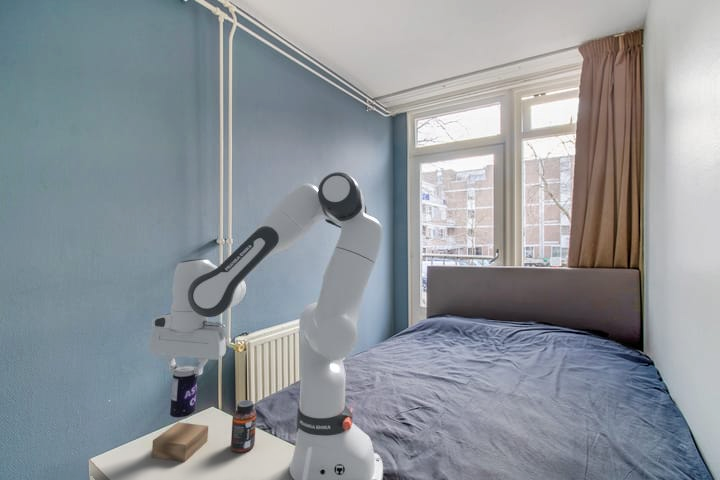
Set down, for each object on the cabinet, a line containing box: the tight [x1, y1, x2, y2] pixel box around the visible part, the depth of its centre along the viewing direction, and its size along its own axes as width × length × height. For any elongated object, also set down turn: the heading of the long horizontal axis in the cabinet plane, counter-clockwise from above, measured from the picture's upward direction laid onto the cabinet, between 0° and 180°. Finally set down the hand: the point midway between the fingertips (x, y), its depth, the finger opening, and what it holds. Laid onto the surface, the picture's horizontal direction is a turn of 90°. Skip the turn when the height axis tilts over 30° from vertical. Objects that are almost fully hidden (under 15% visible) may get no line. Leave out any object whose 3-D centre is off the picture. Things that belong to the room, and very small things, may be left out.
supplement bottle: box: [230, 399, 257, 453], centre depth 85 cm, size 6×6×11 cm
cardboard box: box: [151, 421, 209, 463], centre depth 83 cm, size 9×9×4 cm
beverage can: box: [169, 364, 198, 420], centre depth 84 cm, size 6×6×12 cm
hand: (185, 373), depth 84 cm, fingers closed on beverage can, 6 cm apart
